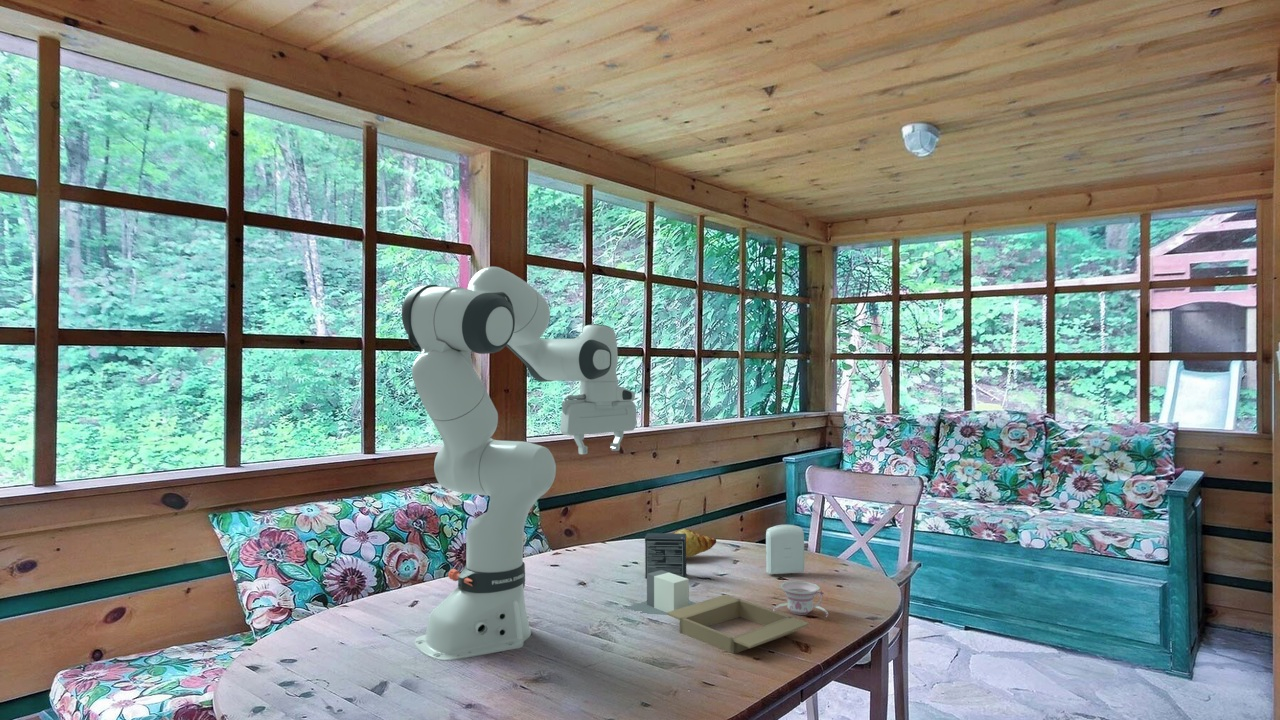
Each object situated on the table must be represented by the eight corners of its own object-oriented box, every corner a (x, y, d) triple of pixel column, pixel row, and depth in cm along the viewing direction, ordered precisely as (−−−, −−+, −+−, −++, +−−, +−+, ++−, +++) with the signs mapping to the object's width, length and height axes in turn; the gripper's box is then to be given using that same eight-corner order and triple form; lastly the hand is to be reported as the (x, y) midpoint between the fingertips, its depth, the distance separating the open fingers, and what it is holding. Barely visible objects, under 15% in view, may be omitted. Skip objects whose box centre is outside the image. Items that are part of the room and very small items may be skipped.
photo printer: (769, 575, 187) (769, 527, 187) (763, 570, 191) (763, 524, 191) (806, 573, 189) (806, 526, 189) (800, 568, 193) (800, 522, 193)
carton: (750, 668, 131) (750, 646, 131) (666, 632, 148) (666, 612, 148) (809, 643, 142) (809, 623, 142) (725, 612, 160) (725, 594, 160)
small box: (687, 572, 190) (686, 532, 190) (686, 580, 183) (686, 538, 183) (646, 571, 191) (646, 531, 191) (644, 578, 184) (644, 537, 184)
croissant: (650, 572, 200) (655, 552, 196) (639, 545, 208) (643, 525, 204) (719, 561, 208) (725, 541, 203) (706, 536, 215) (711, 516, 211)
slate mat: (664, 626, 152) (664, 623, 152) (625, 609, 162) (625, 607, 162) (711, 611, 161) (711, 608, 161) (671, 596, 171) (671, 593, 171)
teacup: (768, 620, 155) (768, 591, 155) (777, 602, 167) (777, 575, 167) (825, 627, 151) (825, 597, 151) (830, 608, 163) (830, 581, 163)
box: (673, 615, 156) (673, 583, 156) (646, 604, 163) (646, 573, 163) (688, 610, 159) (688, 579, 159) (661, 600, 166) (661, 569, 166)
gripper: (570, 395, 161) (570, 457, 161) (640, 392, 175) (640, 449, 175) (554, 394, 166) (554, 454, 166) (623, 391, 179) (624, 447, 179)
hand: (599, 452), depth 171 cm, fingers open, 8 cm apart
